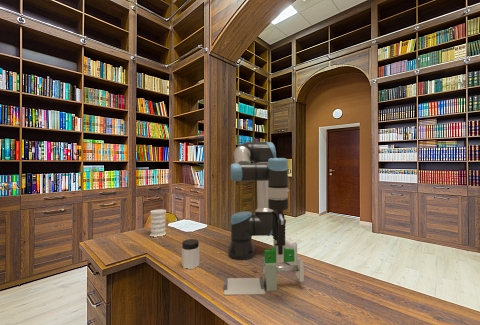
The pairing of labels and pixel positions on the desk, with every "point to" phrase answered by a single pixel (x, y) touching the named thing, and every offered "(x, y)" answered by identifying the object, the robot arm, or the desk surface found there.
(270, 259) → the pipe clamp
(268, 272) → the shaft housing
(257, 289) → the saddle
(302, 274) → the shaft
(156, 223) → the decorative container
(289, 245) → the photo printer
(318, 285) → the desk surface
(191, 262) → the jar
